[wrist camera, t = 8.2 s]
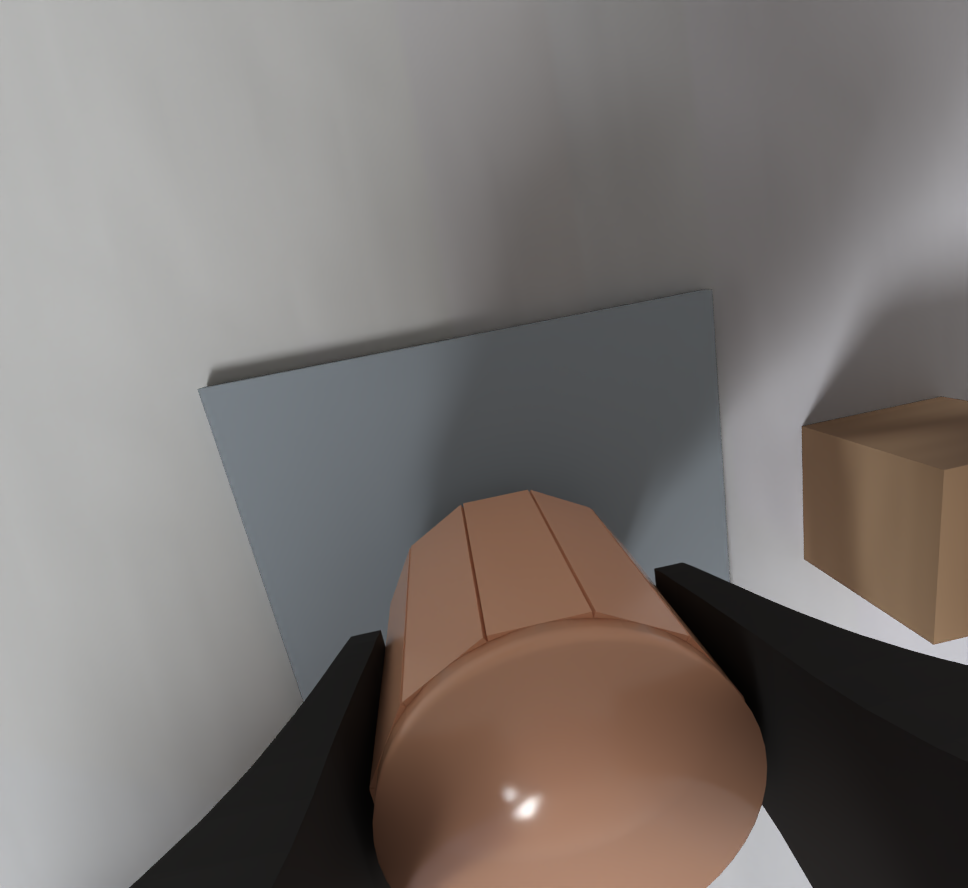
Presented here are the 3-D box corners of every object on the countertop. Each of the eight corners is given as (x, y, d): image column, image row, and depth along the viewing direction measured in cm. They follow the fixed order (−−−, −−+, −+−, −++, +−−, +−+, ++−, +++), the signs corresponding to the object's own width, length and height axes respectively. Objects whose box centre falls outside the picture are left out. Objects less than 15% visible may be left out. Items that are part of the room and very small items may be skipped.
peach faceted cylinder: (423, 727, 13) (422, 991, 8) (368, 523, 11) (323, 700, 6) (642, 675, 13) (770, 899, 8) (620, 469, 11) (762, 598, 6)
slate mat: (339, 787, 15) (336, 799, 15) (205, 387, 12) (197, 389, 11) (729, 693, 16) (737, 703, 15) (703, 289, 12) (711, 289, 12)
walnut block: (802, 557, 15) (933, 644, 11) (799, 425, 14) (944, 469, 10) (930, 528, 15) (1104, 603, 11) (938, 395, 14) (1132, 428, 10)
